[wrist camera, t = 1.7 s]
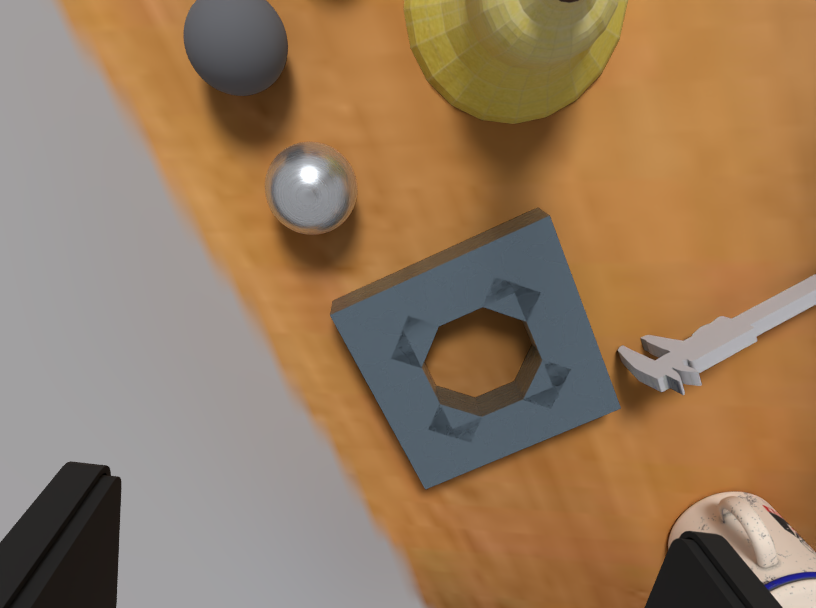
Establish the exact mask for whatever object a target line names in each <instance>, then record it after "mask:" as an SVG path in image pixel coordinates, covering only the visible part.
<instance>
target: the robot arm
mask: <svg viewBox="0 0 816 608" xmlns="http://www.w3.org/2000/svg"><path fill="white" fill-rule="evenodd" d="M120 506H121V479H120V477H116V476H111V472H110V468H109V467H108V466H106V465H97V464H88V463H78V462H68V463H66V464H65V465H64V466H63V467H62V468H61V469H60V471H59V472H58V473H57V474H56V475H55V477H54V478H53V479H52V480H51V482H50V483H49V484H48V485H47V486H46V488H45V489H44V490H43V491H42V493H41V494H40V495H39V496H38V497H37V499H36V500H35V501H34V502H33V503H32V505H31V506H30V507H29V509H28V510H27V511H26V512H25V513H24V514H23V516H22V517H21V518H20V519H19V520H18V522H17V523H16V524H15V525H14V527H13V528H12V529H11V530H10V531H9V533H8V534H7V535H6V536H5V538H4V539H3V540H2V541H1V542H0V608H116V602H117V576H118V554H119V530H120ZM645 608H783V607H782V606H781V605H780V603H779V602H778V601H777V600H776V599H775V598H774V596H773V595H772V594H771V593H770V592H769V590H768V589H767V588H766V587H765V586H764V584H763V583H762V582H761V581H760V580H759V578H758V577H757V576H756V575H755V574H754V572H753V571H752V570H751V569H750V568H749V566H748V565H747V564H746V563H745V562H744V560H743V559H742V558H741V557H740V556H739V554H738V553H737V552H736V551H735V550H734V548H733V547H732V546H731V545H730V544H729V542H728V541H727V540H726V539H725V538H724V537H723V536H721V535H718V534H713V533H705V532H696V531H685V532H684V533H682V534H681V535H680V537H679V538H677V539H675V540H673V541H672V543H671V545H670V547H669V550H668V552H667V554H666V557H665V559H664V562H663V564H662V567H661V569H660V571H659V574H658V576H657V579H656V581H655V584H654V586H653V589H652V591H651V593H650V596H649V598H648V601H647V603H646V606H645Z"/></svg>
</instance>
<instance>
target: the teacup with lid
mask: <svg viewBox="0 0 816 608" xmlns="http://www.w3.org/2000/svg"><path fill="white" fill-rule="evenodd" d="M685 531H696V532H705V533H713V534H718V535H721V536H723V537H724V538H725V539H726V540H727V541H728V542H729V544H730V545H731V546H732V547H733V548H734V550H735V551H736V552H737V553H738V554H739V556H740V557H741V558H742V559H743V560H744V562H745V563H746V564H747V565H748V566H749V568H750V569H751V570H752V571H753V572H754V574H755V575H756V576H757V577H758V578H759V580H760V581H761V582H762V583H763V584H764V586H765V587H766V588H767V589H768V590H769V592H770V593H771V594H772V595H773V596H774V598H775V599H776V600H777V601H778V602H779V603H780V605H781V606H782V607H783V608H816V552H815V551H814V550H813V549H812V548H811V547H810V546H809V545H808V544H807V543H806V542H805V541H804V540H803V539H802V538H801V537H800V535H799V534H798V533H797V532H796V531H795V530H794V529H793V528H792V527H791V526H790V525H789V524H788V523H787V522H786V521H785V520H784V519H783V518H782V517H781V516H780V515H779V514H778V513H777V512H776V511H775V510H774V508H773V507H772V506H771V505H770V504H768V503H767V502H766V501H765V500H763V499H762V498H760V497H758V496H756V495H753V494H750V493H746V492H735V491H732V492H722V493H718V494H714V495H711V496H708V497H706V498H704V499H702V500H700V501H698V502H696V503H695V504H693V505H692V506H691V507H689V508H688V509H687V510H686V511H685V512H684V513H683V514H682V515H681V516H680V517H679V518H678V520H677V521H676V523H675V524H674V526H673V528H672V530H671V533H670V536H669V541H668V550H669V547H670V545H671V543H672V541H673V540H675V539H677V538H679V537H680V535H681V534H682V533H684V532H685Z"/></svg>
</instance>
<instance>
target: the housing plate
mask: <svg viewBox="0 0 816 608" xmlns="http://www.w3.org/2000/svg"><path fill="white" fill-rule="evenodd" d="M482 307H484V308H487V309H490V310H493V311H496V312H499V313H502V314H505V315H508V316H511V317H514V318H517V319H520V320H522V321H523V323H524V326H525V328H526V331H527V333H528V336H529V338H530V340H531V343H532V345H531V347H530V350H529V352H528V354H527V356H526V358H525V360H524V362H523V364H522V366H521V368H520V370H519V372H518V375H517V377H516V379H515V381H513V382H511V383H509V384H506V385H504V386H502V387H499V388H497V389H495V390H492V391H490V392H488V393H485V394H483V395H481V396H478V397H476V398H475V397H471V396H468V395H465V394H462V393H459V392H455V391H452V390H449V389H446V388H442V387H439V386H436V384H435V382H434V380H433V378H432V376H431V374H430V372H429V370H428V368H427V366H426V364H425V362H424V361H425V358H426V356H427V354H428V351H429V349H430V346H431V344H432V342H433V339H434V337H435V334H436V332H437V330H438V327H439V326H441V325H443V324H446V323H448V322H450V321H452V320H455V319H457V318H459V317H461V316H464V315H466V314H468V313H470V312H473V311H475V310H477V309H479V308H482ZM330 316H331V318H332V320H333V322H334V323H335V325H336V327H337V329H338V331H339V333H340V334H341V336H342V338H343V340H344V342H345V343H346V345H347V347H348V349H349V351H350V353H351V354H352V356H353V358H354V360H355V362H356V364H357V365H358V367H359V369H360V371H361V373H362V375H363V376H364V378H365V380H366V382H367V384H368V386H369V387H370V389H371V391H372V393H373V395H374V397H375V398H376V400H377V402H378V404H379V406H380V408H381V409H382V411H383V413H384V415H385V417H386V418H387V420H388V422H389V424H390V426H391V428H392V429H393V431H394V433H395V435H396V437H397V439H398V440H399V442H400V444H401V446H402V448H403V450H404V451H405V453H406V455H407V457H408V459H409V461H410V462H411V464H412V466H413V468H414V470H415V472H416V473H417V475H418V477H419V479H420V481H421V482H422V484H423V486H424V488H425V489H428V488H430V487H432V486H435V485H437V484H440V483H442V482H445V481H447V480H449V479H452V478H454V477H457V476H459V475H461V474H464V473H466V472H469V471H471V470H473V469H476V468H478V467H481V466H483V465H486V464H488V463H490V462H493V461H495V460H498V459H500V458H502V457H505V456H507V455H510V454H512V453H515V452H517V451H519V450H522V449H524V448H527V447H529V446H531V445H534V444H536V443H539V442H541V441H544V440H546V439H548V438H551V437H553V436H556V435H558V434H560V433H563V432H565V431H568V430H570V429H572V428H575V427H577V426H580V425H582V424H585V423H587V422H589V421H592V420H594V419H597V418H599V417H601V416H604V415H606V414H609V413H611V412H614V411H616V410H618V409H621V407H620V404H619V402H618V399H617V396H616V393H615V391H614V388H613V385H612V383H611V380H610V377H609V375H608V372H607V369H606V366H605V364H604V361H603V358H602V356H601V353H600V350H599V348H598V345H597V342H596V339H595V337H594V334H593V331H592V329H591V326H590V323H589V320H588V318H587V315H586V312H585V310H584V307H583V304H582V302H581V299H580V296H579V293H578V291H577V288H576V285H575V283H574V280H573V277H572V274H571V272H570V269H569V266H568V264H567V261H566V258H565V256H564V253H563V250H562V247H561V245H560V242H559V239H558V237H557V234H556V231H555V228H554V226H553V223H552V220H551V218H550V215H548V214H547V213H545V212H544V211H542V210H541V209H539V208H536V209H533V210H531V211H529V212H527V213H525V214H522V215H520V216H518V217H516V218H514V219H512V220H509V221H507V222H505V223H503V224H501V225H498V226H496V227H494V228H492V229H490V230H487V231H485V232H483V233H481V234H479V235H476V236H474V237H472V238H470V239H468V240H465V241H463V242H461V243H459V244H457V245H454V246H452V247H450V248H448V249H446V250H443V251H441V252H439V253H437V254H435V255H432V256H430V257H428V258H426V259H424V260H421V261H419V262H417V263H415V264H413V265H410V266H408V267H406V268H404V269H402V270H399V271H397V272H395V273H393V274H391V275H388V276H386V277H384V278H382V279H380V280H377V281H375V282H373V283H371V284H369V285H366V286H364V287H362V288H360V289H358V290H356V291H353V292H351V293H349V294H347V295H345V296H342V297H340V298H338V299H336V300H334V301H333V302H332V307H331V312H330Z"/></svg>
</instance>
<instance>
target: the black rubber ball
mask: <svg viewBox="0 0 816 608" xmlns="http://www.w3.org/2000/svg"><path fill="white" fill-rule="evenodd" d="M184 44H185V49H186V53H187V55H188V58H189V60H190V62H191V64H192V66H193V67H194V69H195V71H196V72H197V73H198V74H199V75H200V77H201V78H202V79H203V80H204V81H205V82H207V83H208V84H209V85H211V86H212V87H214V88H215V89H217V90H219V91H221V92H224V93H227V94H231V95H236V96H247V95H253V94H256V93H259V92H261V91H263V90H265V89H267V88H268V87H270V86H271V85H272V84H273V83H274V82H275V81H276V80H277V79H278V77H279V76H280V74H281V73H282V71H283V69H284V66H285V63H286V59H287V53H288V42H287V35H286V31H285V28H284V25H283V23H282V21H281V19H280V17H279V16H278V14H277V12H276V11H275V10H274V8H273V7H272V6H271V5H270V4H269V3H268V2H267V1H266V0H196V2H195V3H194V4H193V5H192V7H191V9H190V10H189V12H188V15H187V17H186V21H185V25H184Z"/></svg>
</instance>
